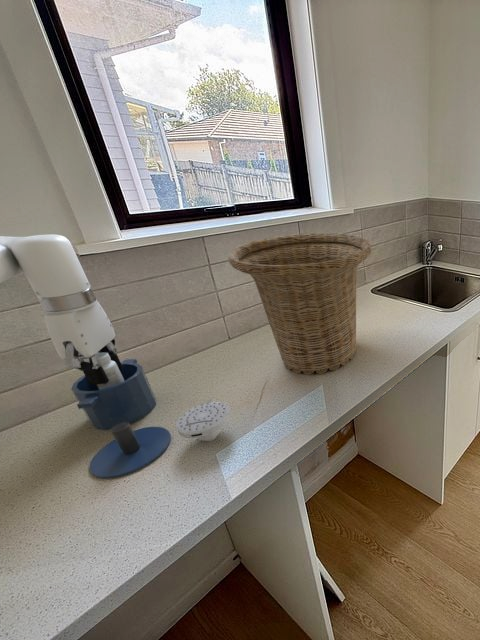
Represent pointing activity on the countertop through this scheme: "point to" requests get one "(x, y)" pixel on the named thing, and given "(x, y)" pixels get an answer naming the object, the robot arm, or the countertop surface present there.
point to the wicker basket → (307, 294)
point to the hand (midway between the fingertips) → (107, 375)
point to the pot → (116, 398)
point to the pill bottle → (108, 370)
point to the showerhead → (204, 421)
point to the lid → (129, 450)
